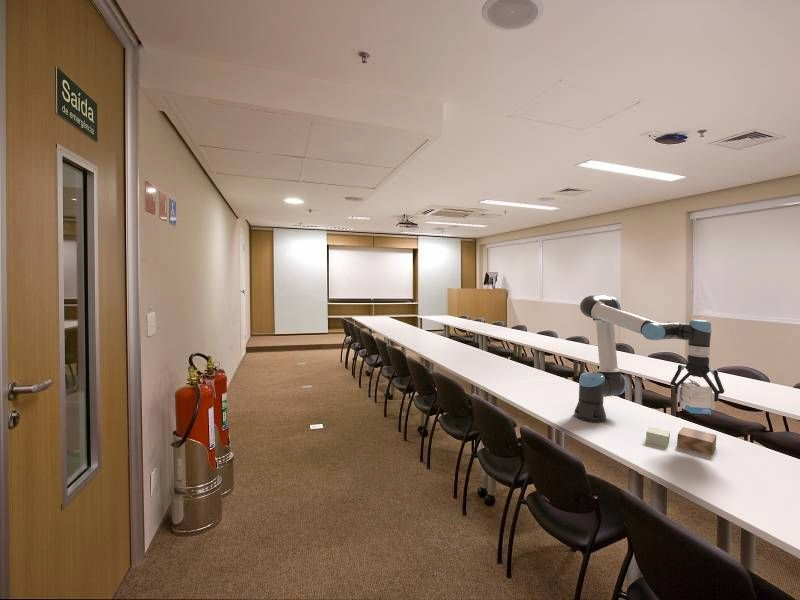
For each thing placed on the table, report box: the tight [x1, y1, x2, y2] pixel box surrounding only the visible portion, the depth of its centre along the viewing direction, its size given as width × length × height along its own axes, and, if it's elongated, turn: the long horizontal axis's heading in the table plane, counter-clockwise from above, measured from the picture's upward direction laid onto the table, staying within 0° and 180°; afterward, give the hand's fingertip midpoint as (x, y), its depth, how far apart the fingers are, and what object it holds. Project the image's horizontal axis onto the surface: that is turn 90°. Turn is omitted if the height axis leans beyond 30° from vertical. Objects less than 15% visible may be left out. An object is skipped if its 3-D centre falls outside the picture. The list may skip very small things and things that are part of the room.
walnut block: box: [676, 426, 717, 457], centre depth 168 cm, size 12×12×6 cm
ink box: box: [679, 378, 713, 415], centre depth 168 cm, size 9×8×13 cm
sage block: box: [645, 426, 671, 448], centre depth 172 cm, size 8×8×5 cm
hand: (695, 404), depth 168 cm, fingers closed on ink box, 11 cm apart
